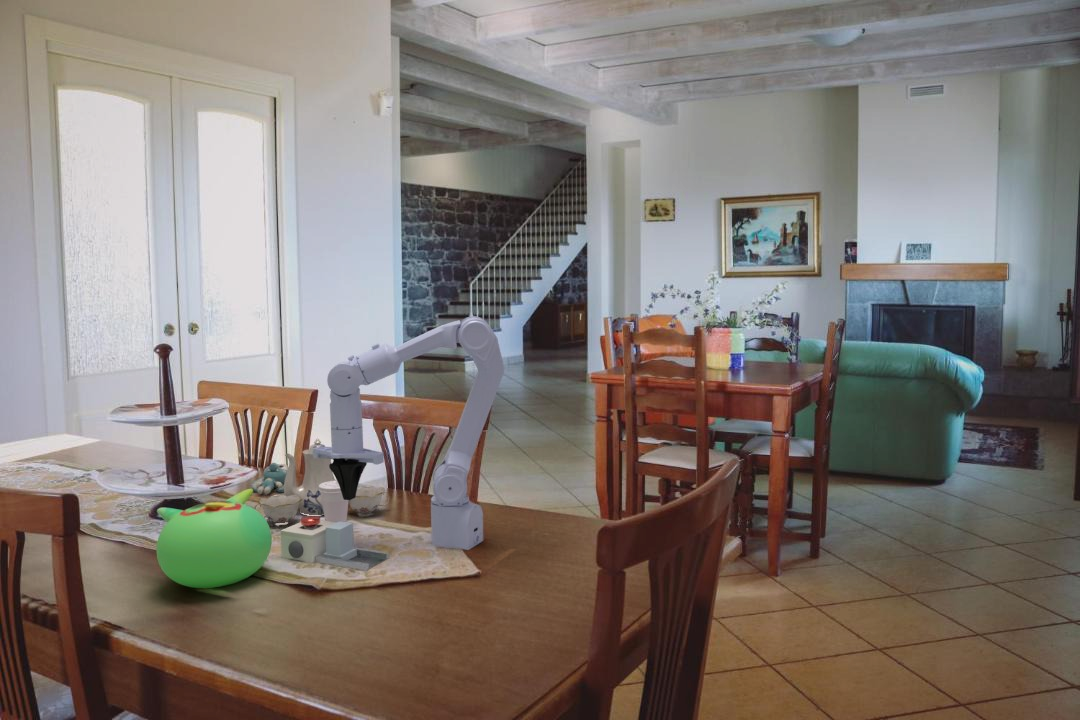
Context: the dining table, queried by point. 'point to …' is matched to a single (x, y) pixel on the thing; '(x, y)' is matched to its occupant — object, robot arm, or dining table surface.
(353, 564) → the rail
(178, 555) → the green rounded blob
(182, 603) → the dining table surface
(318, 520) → the red push button
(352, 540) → the carriage
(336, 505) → the smoothie
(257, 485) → the stuffed animal
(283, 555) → the end cabinet
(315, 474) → the chinaware
